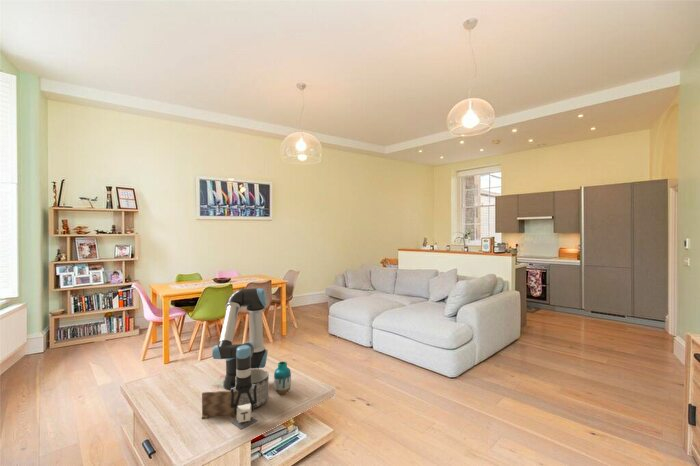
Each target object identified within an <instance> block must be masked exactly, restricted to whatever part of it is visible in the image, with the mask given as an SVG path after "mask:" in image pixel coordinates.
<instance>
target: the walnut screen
mask: <svg viewBox="0 0 700 466" xmlns="http://www.w3.org/2000/svg"><path fill="white" fill-rule="evenodd" d="M231 394H232V393H231V390H222V391H221V390H218V391H203V392H201V419H202V420H203V419H209V417H214V416H229V415H231V417H232V418H235V417H236V418H237V414H235V413H234V408H231ZM237 395H238V391H237V390H235V392H234V403H233V404H235V401H236V398H237ZM237 406H240V399H239V402H238V405H237Z"/></svg>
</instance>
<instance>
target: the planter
mask: <svg viewBox="0 0 700 466" xmlns="http://www.w3.org/2000/svg"><path fill="white" fill-rule="evenodd" d="M250 375H251V383H252V384H256V385H257V388H256V397H257V403H255V404H254V405H253V409H255V408H259V407H261V406H263V405H265V403H267V401H268V399H269V377H270V376H269V375H270V374H269V371H268V370H265V369H263V368H259V369H258V368H256V369H251V374H250ZM236 377H237V375H236ZM236 377H235V387H236ZM249 391H250V394H251V397H252V400H253V401H254V391H253V388H252V387H251V388H250V390H249ZM245 404H249V405H250V400H249V397H248V395H247V393H242V394H241V396H240V405H245Z"/></svg>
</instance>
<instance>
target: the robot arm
mask: <svg viewBox="0 0 700 466" xmlns="http://www.w3.org/2000/svg"><path fill="white" fill-rule="evenodd" d="M267 297H268V296H267V292H266V290H265V288H258V287H256V288H239V289H237V290H235V291H233V293H231V294H230V296H229V297H228V299H227V300H226V302H225V305H224V307H225V313H224V319H223V321H222V326H221V332H220V336H219V341H218V344H217V345H216V344H215V345H213V348H212V351H211V355H212V359H213V360H225V377H224V380H223V388H224V389H225V390H226V391H231V393H232V394H231V408H234V413H235V414H237V416H236V419H237V420H238V406H237V405H238V402H239V399H240V396H241V394H242V393H247V395H248V397H249V400H250V418H251V416H252V412H253V411H254V408H253V405H254V404H255V403H257V397H256V388H257V385H256V384H252V383H251V375H250V374H251V369H263V368H265V367H266V365H267V360H268V349H266V346H265V345H264V340H263V339H264V336H263V334H264V332H263V331H264V330H263V328H264V327H263V325H264V323H263V311H264V310H265V308H266V307H267V305H268V298H267ZM243 307H245V308H246V310H247V311H248V321H249V322H248V323H249V325H248V326H249V327H248V328H249V330H248V331H249V341H245V342H243V343H239V344H238V343H237V344H233V341H234V336H235V331H236V327H237V321H238V316H239V312H240V310H241V309H242V308H243ZM236 375H237V377H236ZM235 377H236V387H235ZM251 387H252V388H253V391H254V401H253V400H252V397H251V394H250V391H249V390H250V388H251ZM235 390H237V391H238V395H237V398H236V401H235V404H233V403H234V392H235Z"/></svg>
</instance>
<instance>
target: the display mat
mask: <svg viewBox="0 0 700 466" xmlns="http://www.w3.org/2000/svg"><path fill="white" fill-rule="evenodd" d="M256 422H258V419H256V418H255V417H254V416H252V415H251V418H250V421H245V422H240V423H238V420H237V418H235V419H233V420H231V421H230V423H231V424H232V425H234V426H235V427H236V428H238V429H239V430H243V429H245V428H247V427H248V425H249V426H250V424H251V425H252V424H254V423H256Z"/></svg>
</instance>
